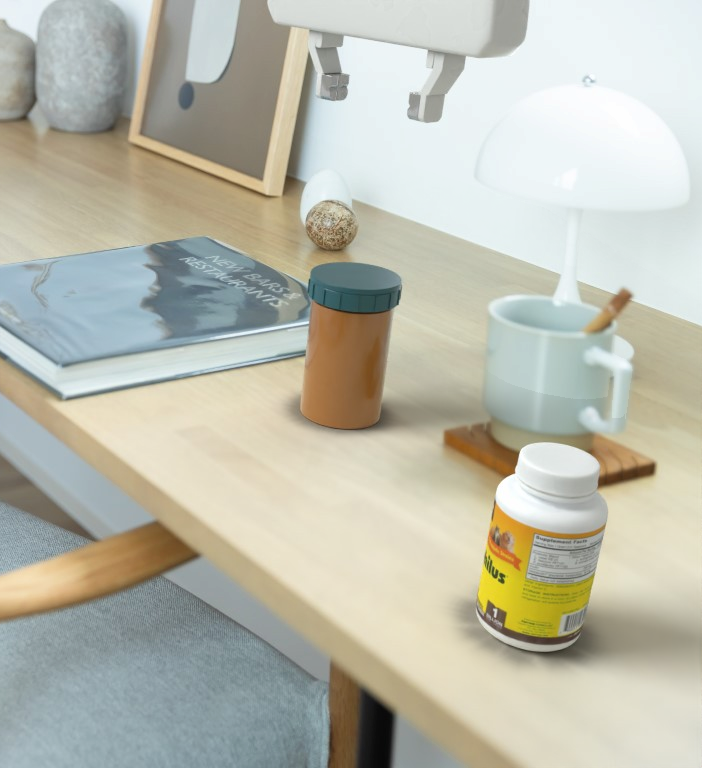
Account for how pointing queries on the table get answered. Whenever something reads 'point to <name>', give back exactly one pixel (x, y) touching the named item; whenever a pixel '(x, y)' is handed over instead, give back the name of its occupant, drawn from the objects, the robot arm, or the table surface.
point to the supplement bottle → (542, 548)
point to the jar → (345, 366)
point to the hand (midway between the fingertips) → (375, 109)
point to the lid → (355, 287)
